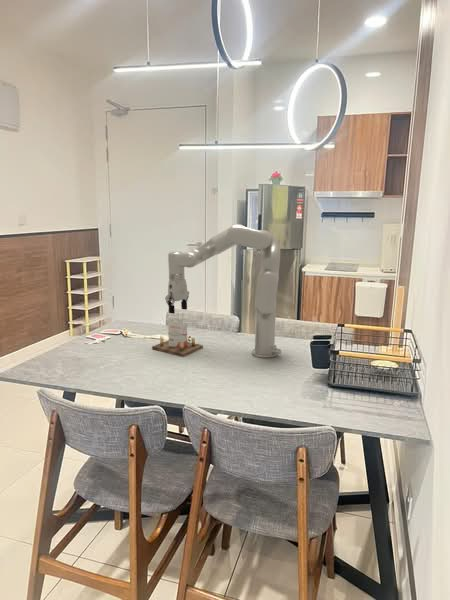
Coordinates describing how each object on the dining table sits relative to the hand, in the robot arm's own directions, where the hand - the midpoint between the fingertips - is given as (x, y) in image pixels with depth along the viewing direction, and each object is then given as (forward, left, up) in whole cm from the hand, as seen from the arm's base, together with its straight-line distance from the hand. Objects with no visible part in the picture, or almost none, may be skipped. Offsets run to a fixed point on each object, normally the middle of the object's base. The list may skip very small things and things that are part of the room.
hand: (178, 311), depth 211 cm
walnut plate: (0, 0, -20) cm, 20 cm away
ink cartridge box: (0, 0, -18) cm, 18 cm away
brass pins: (0, 0, -18) cm, 18 cm away
